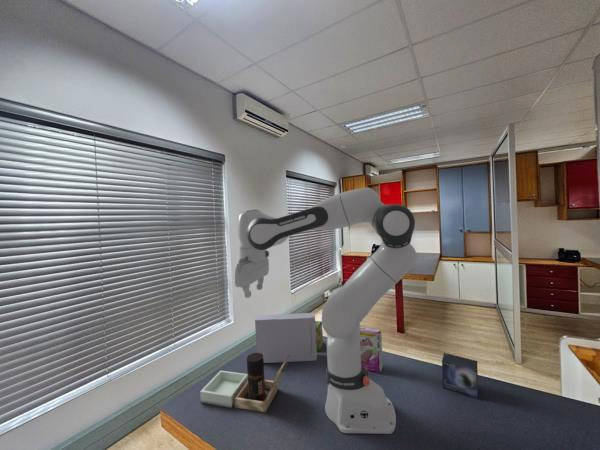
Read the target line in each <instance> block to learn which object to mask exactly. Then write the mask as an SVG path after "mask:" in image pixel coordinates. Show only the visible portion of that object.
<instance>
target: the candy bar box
mask: <svg viewBox="0 0 600 450" xmlns="http://www.w3.org/2000/svg"><path fill="white" fill-rule="evenodd" d="M382 345H383V341H382V330H381V329H377V328H371V327H368V326H364V325H360V350H361V366H362V367H364V368H366V367H367V371H368V372H373V373H377V374H381V373H382V370H383V368H384V365H383V347H382Z"/></svg>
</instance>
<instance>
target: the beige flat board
mask: <svg viewBox="0 0 600 450" xmlns="http://www.w3.org/2000/svg"><path fill="white" fill-rule="evenodd" d="M288 358H289V355H288V356H287V357H286V359H285V361H284V362H282V364H281V366H280V367H279V369H278V370H277V373H276V376H275V377H274V380H273V381H274V382H273V385H272V387H271V389H269V392H268V393H269V394H268V393H267V395H268V397H267V396H266V397H267V399H266V398H265V399H266V402H265V403H266V404H267V402H268V400H269V398H270V397H271V395H272V393H273V391H274V389H275V387H276V386H277V384H278V385H279V382H280V380H281V377H282V374H283V373H284V372H285V370H286V369H287V366H288V364H289V362H287V360H288Z"/></svg>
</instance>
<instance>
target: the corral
mask: <svg viewBox="0 0 600 450" xmlns="http://www.w3.org/2000/svg"><path fill="white" fill-rule="evenodd" d="M273 382H274V380H270V379H265V390H270V389H271V387H272V385H273ZM278 385H279V383H278V384H277V386H276V387H275V389H274V391H273V393H272V395H271V397H270V398H269V400H268V402H267V404H266V403H265V402H266V399H267V397H268V394H269V392H268V393H267V395H266V396H265V399H264V401H257V400H251V399H249V398H245V397H246V395H247V393H249V391H248V381H247V382H246V384H245V385H244V386H243V388H242V389H241V390H240V392H239V393H238V394H237V396H236V397H235V398H234V402H235V404H234V408H236V409H243V410H249V411H255V412H261V413H267V410H268V408H269V407H270V405H271V403H272V401H273V399H274V398H275V396H276V394H277V392H278V390H279V386H278Z"/></svg>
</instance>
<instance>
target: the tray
mask: <svg viewBox="0 0 600 450" xmlns="http://www.w3.org/2000/svg"><path fill="white" fill-rule="evenodd" d="M247 381H248V373H243V372H242V373H241V372H235V371H226V370H221V369H219V371H218V372H217V373H216V374H215V376H214V377H213V378H211V379H210V380H209V382H208V383H207V384H206V385H205V386H204V387H203V388H202V389H201V390H200V391H199V395H200V403H202V404H206V405H207V404H208V405H212V406H213V405H214V406H218V407H225V408H229V409H230V408H231V409H232V408H233V407H234V406H235V402H234V398H235V397H236V396H237V394H238V393H239V392H240V390H241V389H242V388H243V386H244V385H245V384H246V382H247Z"/></svg>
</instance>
